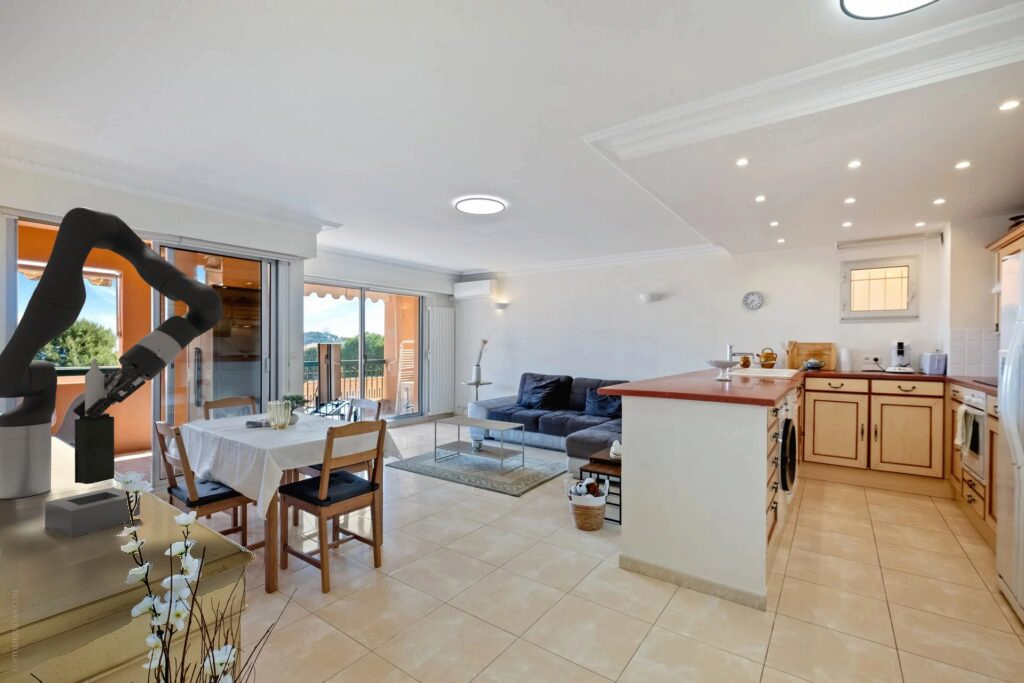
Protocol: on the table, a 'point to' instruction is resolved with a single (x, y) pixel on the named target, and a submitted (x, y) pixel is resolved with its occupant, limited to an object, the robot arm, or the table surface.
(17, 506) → the table surface
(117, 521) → the holder
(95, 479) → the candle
